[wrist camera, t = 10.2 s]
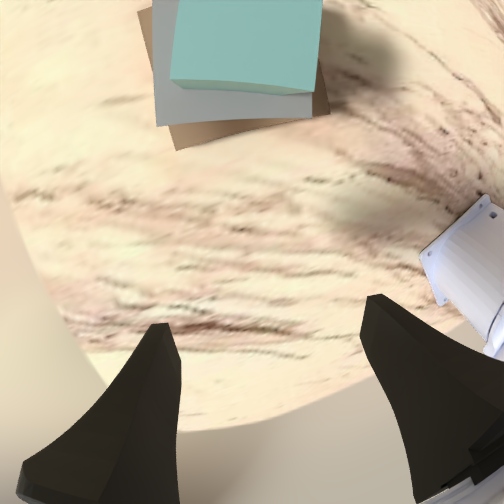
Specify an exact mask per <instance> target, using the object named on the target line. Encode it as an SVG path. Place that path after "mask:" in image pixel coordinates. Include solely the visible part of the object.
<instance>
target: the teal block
mask: <svg viewBox="0 0 504 504" xmlns="http://www.w3.org/2000/svg"><path fill="white" fill-rule="evenodd" d="M322 3H323V0H179V6H178V12H177V19H176V26H175V34H174V42H173V50H172V59H171V69H170V80H171V81H173V82H174V83H175V84H177V85H178V86H180V87H181V88H183V89H204V90H225V91H240V92H251V93H261V94H270V95H278V96H280V95H288V94H296V93H305V92H314V89H315V80H316V70H317V61H318V50H319V40H320V28H321V16H322Z"/></svg>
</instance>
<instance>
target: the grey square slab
mask: <svg viewBox="0 0 504 504" xmlns="http://www.w3.org/2000/svg"><path fill="white" fill-rule="evenodd" d="M178 6H179V0H153V3H152V48H153V78H154V96H155V111H156V124H157V127H159V126H167V125H175V124H184V123H194V122H205V121H217V120H233V119H257V118H310V119H312V92H305V93H296V94H288V95H280V96H278V95H270V94H261V93H251V92H240V91H225V90H204V89H183V88H181V87H180V86H178V85H177V84H175V83H174V82H173V81H171V80H170V69H171V59H172V50H173V42H174V34H175V26H176V19H177V12H178Z"/></svg>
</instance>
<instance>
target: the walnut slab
mask: <svg viewBox="0 0 504 504" xmlns="http://www.w3.org/2000/svg"><path fill="white" fill-rule="evenodd" d="M137 13H138V17H139V21H140V25H141V29H142V33H143V37H144V41H145V45H146V49H147V52H148V56H149V60H150V64H151V67H152V71H153V48H152V7H149V8H146V9H143V10H141V11H138V12H137ZM328 114H331V113H330V108H329V103H328V98H327V94H326V89H325V85H324V80H323V76H322V72H321V67H320V63H319V59H318V61H317V70H316V80H315V89H314V92H312V117H316V116H322V115H328ZM300 119H305V118H257V119H233V120H217V121H205V122H194V123H184V124H175V125H168V126H169V130H170V133H171V136H172V140H173V143H174V146H175V149H176V151H178V150H181V149H184V148H188V147H191V146H194V145H198V144H201V143H204V142H208V141H211V140H215V139H218V138H222V137H226V136H229V135H233V134H237V133H241V132H245V131H249V130H253V129H257V128H262V127H266V126H271V125H275V124H280V123H285V122H290V121H295V120H300Z"/></svg>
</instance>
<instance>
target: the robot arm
mask: <svg viewBox="0 0 504 504" xmlns="http://www.w3.org/2000/svg"><path fill="white" fill-rule="evenodd" d="M429 251H430V252H429ZM428 252H429V253H428ZM419 259H420V262H421V264H422V266H423V269H424V271H425V274H426V276H427V278H428V281H429V283H430V286H431V289H432V291H433V294H434V296H435V299H436V302H437V304H438V305H439V306H442V305H444V304H445V303H446V302H447V301H448V300H450V301H451V302H452V304H453V305H454V306H455V307H456V308H457V309H458V310H459V311H460V312H461V314H462V315H463V316H464V317H465V318H466V319H467V320H468V321H469V323H470V324H471V325H472V326H473V327H474V328H475V330H476V331H477V332H478V333H479V334H480V336H481V337H482V338H483V339H484V340H485V342H486V343H487V344H486V346H485V347H484V349H483V352H484V353H485V354H486V355H484V354H482V353H479V352H477V351H475V350H472V349H470V348H468V347H466V346H464V345H462V344H460V343H458V342H456V341H454V340H453V339H451V338H449V337H447V336H446V335H444V334H442V333H441V332H439V331H437V330H436V329H434V328H433V327H431V326H429V325H428V324H426V323H425V322H423V321H422V320H420V319H419V318H417V317H416V316H414V315H413V314H411V313H410V312H409V311H407V310H406V309H404V308H403V307H401V306H400V305H398V304H397V303H395V302H394V301H392V300H391V299H389V298H388V297H386V296H385V295H383V294H377V295H371V296H367V301H366V306H365V311H364V316H363V321H362V326H361V331H360V339H361V342H362V345H363V348H364V351H365V353H366V356H367V358H368V360H369V362H370V364H371V366H372V368H373V370H374V372H375V374H376V376H377V378H378V380H379V382H380V384H381V386H382V388H383V390H384V392H385V393H386V396H387V398H388V400H389V402H390V404H391V406H392V409H393V411H394V414H395V417H396V419H397V422H398V426H399V428H400V432H401V435H402V439H403V442H404V446H405V449H406V454H407V458H408V463H409V467H410V473H411V480H412V487H413V496H414V499H415V501H416V504H419V503H421V502H423V501H425V500H427V499H429V498H431V497H433V496H435V495H437V494H439V493H440V492H442V491H444V490H446V489H448V488H449V490H447V491H445V492H443V493H441V494H439V495H437V496H435V497H434V498H432V499H430V500H428V501H426V502H424V503H422V504H504V209H502V208H500V207H498V206H497V205H495V204H493V203H491V201H490V197H489V195H487V194H484V195H483V196H482V197H481V198H480V199H479V200H478V201H477V202H476V203H475V204H474V205H473V206H472V207H471V208H470V209H469V210H468V211H466V212H465V213H464V214H463V215H462V216H461V217H460V218H459V219H458V220H457V221H456V222H455V223H454V224H453V225H452V226H450V227H449V228H448V229H447V230H446V231H445V232H444V233H443V234H442V235H440V236H439V237H438V238H437V239H436V240H435V241H434V242H432V243H431V244H430V245H429V246H428V247H427V248H425V249H424V250H423V251H422V252H421V253H420V255H419ZM180 395H181V359H180V357H179V354H178V351H177V348H176V345H175V342H174V339H173V336H172V333H171V330H170V327H169V324H168V323H159V324H151V326H150V327H149V329H148V330H147V332H146V333H145V335H144V336H143V338H142V339H141V341H140V342H139V344H138V346H137V347H136V349H135V350H134V352H133V353H132V355H131V356H130V358H129V359H128V361H127V362H126V364H125V365H124V367H123V368H122V369H121V371H120V372H119V374H118V375H117V376H116V378H115V379H114V380H113V382H112V383H111V384H110V386H109V387H108V388H107V389H106V391H105V392H104V393H103V394H102V396H101V397H100V398H99V399H98V400H97V401H96V403H95V404H94V405H93V406H92V407H91V408H90V409H89V410H88V411H87V412H86V413H85V414H84V415H83V416H82V417H81V418H80V419H79V420H78V421H77V422H76V423H75V424H74V425H73V426H72V427H71V428H70V429H69V430H67V431H66V432H65V433H64V434H63V435H61V436H60V437H59V438H57V439H56V440H55V441H53V442H52V443H51V444H50V445H48V446H47V447H45V448H44V449H42V450H41V451H39V452H38V453H36V454H35V455H33V456H31V457H30V458H28V459H27V460H25V461H24V462H23V464H22V468H21V472H20V477H19V480H18V485H17V489H16V494H17V496H18V497H19V498H20V499H22V500H23V501H25V502H27V503H28V504H180V501H179V492H178V481H177V467H176V434H177V423H178V414H179V404H180Z"/></svg>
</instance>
